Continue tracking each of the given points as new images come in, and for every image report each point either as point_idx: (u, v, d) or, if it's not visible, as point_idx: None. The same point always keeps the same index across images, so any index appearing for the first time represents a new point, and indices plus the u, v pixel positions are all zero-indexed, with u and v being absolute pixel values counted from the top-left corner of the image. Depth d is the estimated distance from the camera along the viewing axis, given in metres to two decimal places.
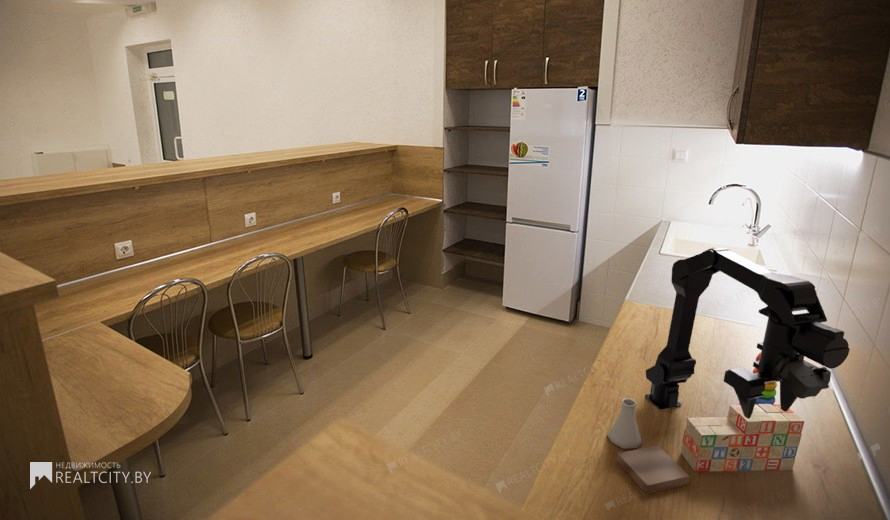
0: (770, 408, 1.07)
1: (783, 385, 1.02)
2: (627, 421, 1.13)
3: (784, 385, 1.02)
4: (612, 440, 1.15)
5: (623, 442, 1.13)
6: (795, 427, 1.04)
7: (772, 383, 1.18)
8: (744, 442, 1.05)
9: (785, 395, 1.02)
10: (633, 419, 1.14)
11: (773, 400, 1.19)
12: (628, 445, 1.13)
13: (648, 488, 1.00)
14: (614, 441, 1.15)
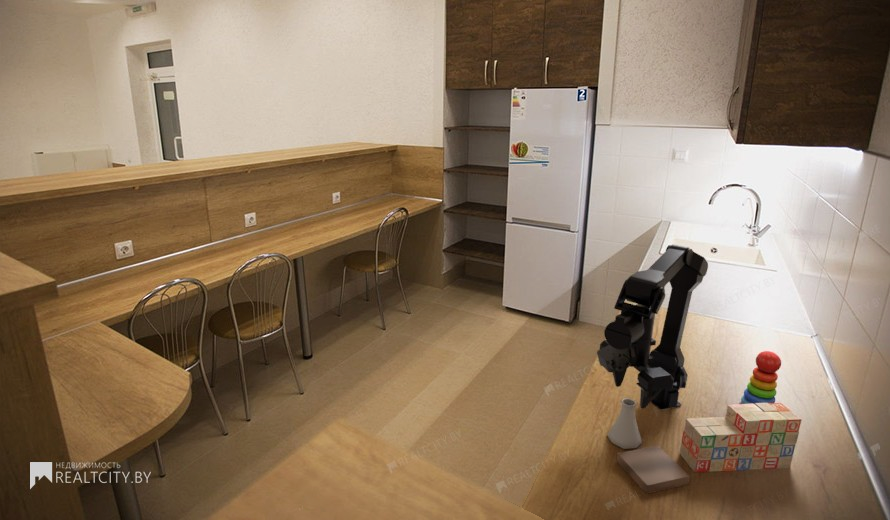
0: (767, 407, 1.08)
1: None
2: (627, 421, 1.13)
3: None
4: (612, 440, 1.15)
5: (623, 442, 1.13)
6: (792, 425, 1.05)
7: (772, 383, 1.18)
8: (743, 442, 1.05)
9: None
10: (633, 419, 1.14)
11: (773, 400, 1.19)
12: (628, 445, 1.13)
13: (648, 488, 1.00)
14: (614, 441, 1.15)
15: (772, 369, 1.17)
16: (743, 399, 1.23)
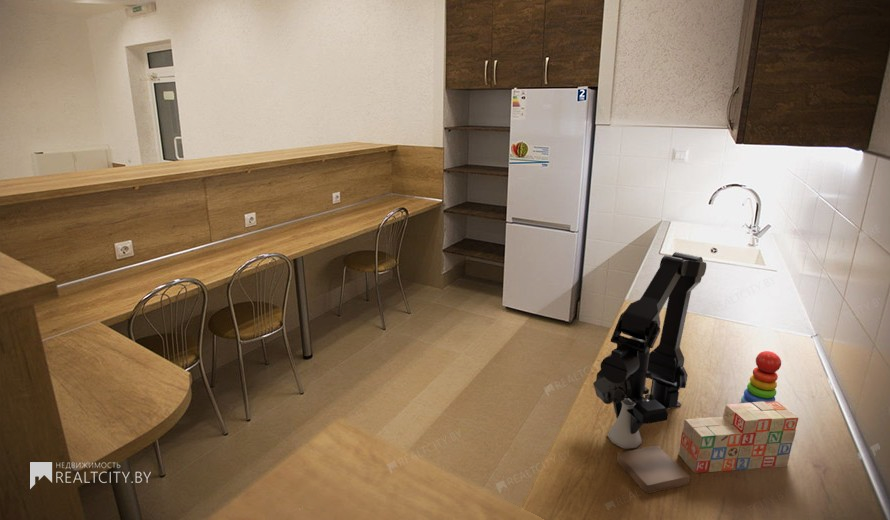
0: (764, 406, 1.08)
1: None
2: (627, 421, 1.13)
3: None
4: (612, 440, 1.15)
5: (623, 441, 1.13)
6: (790, 424, 1.05)
7: (772, 383, 1.18)
8: (742, 441, 1.05)
9: None
10: None
11: (773, 400, 1.19)
12: (628, 445, 1.13)
13: (648, 488, 1.00)
14: (614, 441, 1.15)
15: (772, 369, 1.17)
16: (743, 399, 1.23)
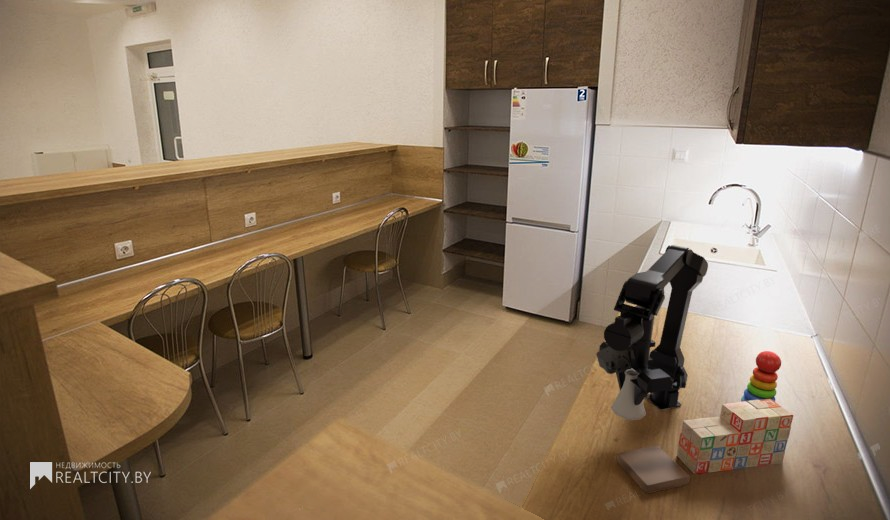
0: (759, 404, 1.09)
1: None
2: (630, 392, 1.11)
3: None
4: (615, 412, 1.13)
5: (627, 413, 1.11)
6: (785, 421, 1.06)
7: (772, 383, 1.18)
8: (740, 441, 1.05)
9: None
10: None
11: (773, 400, 1.19)
12: (632, 416, 1.11)
13: (648, 488, 1.00)
14: (617, 413, 1.12)
15: (772, 369, 1.17)
16: (743, 399, 1.23)
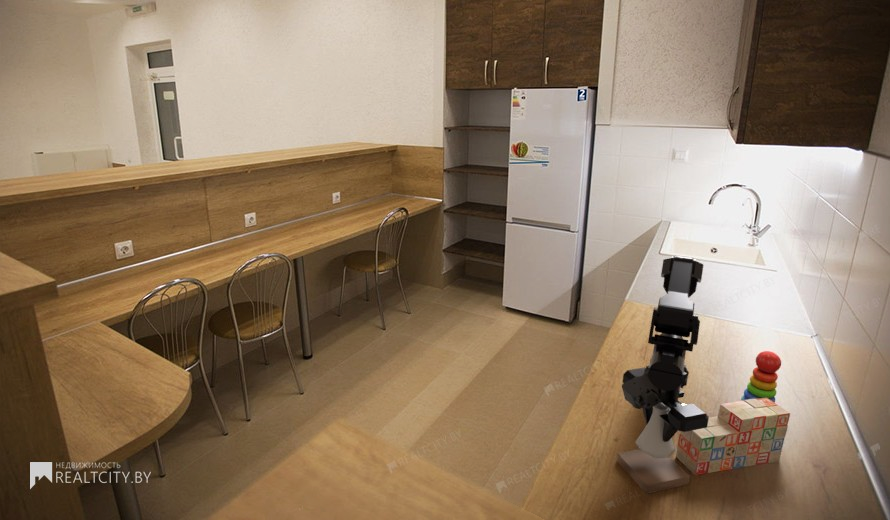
0: (756, 403, 1.09)
1: None
2: (659, 428, 1.01)
3: None
4: (642, 448, 1.03)
5: (655, 450, 1.01)
6: (782, 420, 1.06)
7: (772, 383, 1.18)
8: (738, 440, 1.05)
9: None
10: None
11: (773, 400, 1.19)
12: (660, 454, 1.01)
13: (648, 488, 1.00)
14: (644, 449, 1.03)
15: (772, 369, 1.17)
16: (743, 399, 1.23)
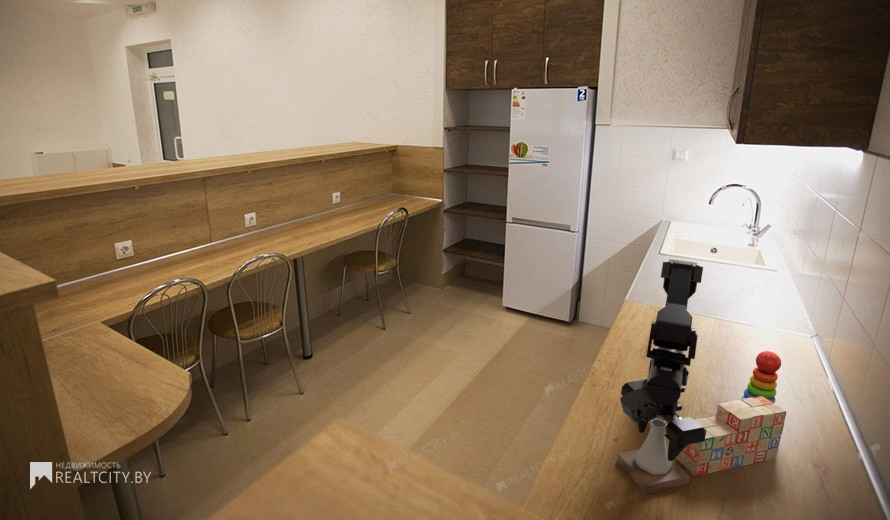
0: (753, 402, 1.10)
1: None
2: (656, 445, 1.02)
3: None
4: (640, 465, 1.04)
5: (653, 467, 1.02)
6: (779, 418, 1.07)
7: (772, 383, 1.18)
8: (737, 440, 1.05)
9: None
10: (663, 442, 1.03)
11: (773, 400, 1.19)
12: (658, 471, 1.02)
13: (648, 488, 1.00)
14: (642, 466, 1.04)
15: (772, 369, 1.17)
16: None
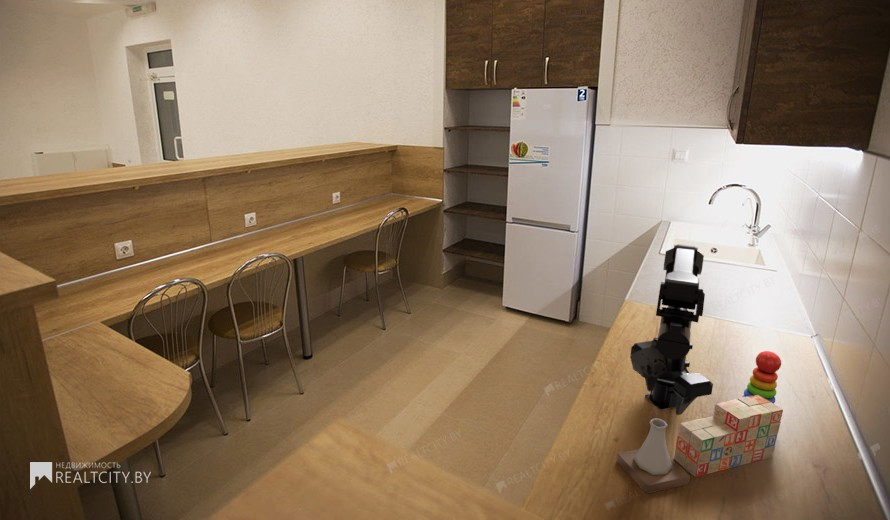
0: (750, 401, 1.10)
1: None
2: (656, 445, 1.02)
3: None
4: (640, 465, 1.04)
5: (653, 467, 1.02)
6: (775, 416, 1.08)
7: (772, 383, 1.18)
8: (736, 439, 1.05)
9: None
10: (663, 442, 1.03)
11: (773, 400, 1.19)
12: (658, 471, 1.02)
13: (648, 488, 1.00)
14: (642, 466, 1.04)
15: (772, 369, 1.17)
16: None
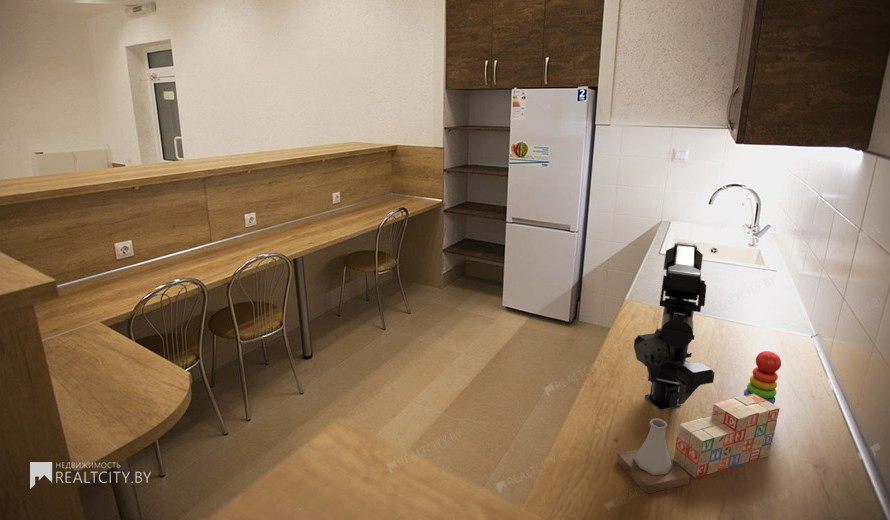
0: (747, 400, 1.10)
1: None
2: (656, 445, 1.02)
3: None
4: (640, 465, 1.04)
5: (653, 467, 1.02)
6: (772, 415, 1.08)
7: (772, 383, 1.18)
8: (735, 439, 1.05)
9: None
10: (663, 442, 1.03)
11: (773, 400, 1.19)
12: (658, 471, 1.02)
13: (648, 488, 1.00)
14: (642, 466, 1.04)
15: (772, 369, 1.17)
16: None
